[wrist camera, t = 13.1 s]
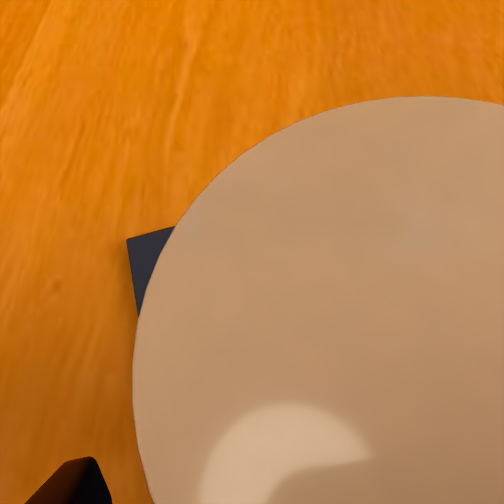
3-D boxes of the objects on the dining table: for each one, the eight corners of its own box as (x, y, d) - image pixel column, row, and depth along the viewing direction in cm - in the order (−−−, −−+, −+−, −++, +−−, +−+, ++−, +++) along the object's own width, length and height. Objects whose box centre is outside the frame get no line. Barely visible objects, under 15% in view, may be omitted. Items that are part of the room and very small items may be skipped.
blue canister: (421, 552, 13) (928, 934, 3) (236, 502, 14) (32, 629, 4) (435, 363, 16) (754, 126, 5) (273, 330, 16) (215, 70, 6)
